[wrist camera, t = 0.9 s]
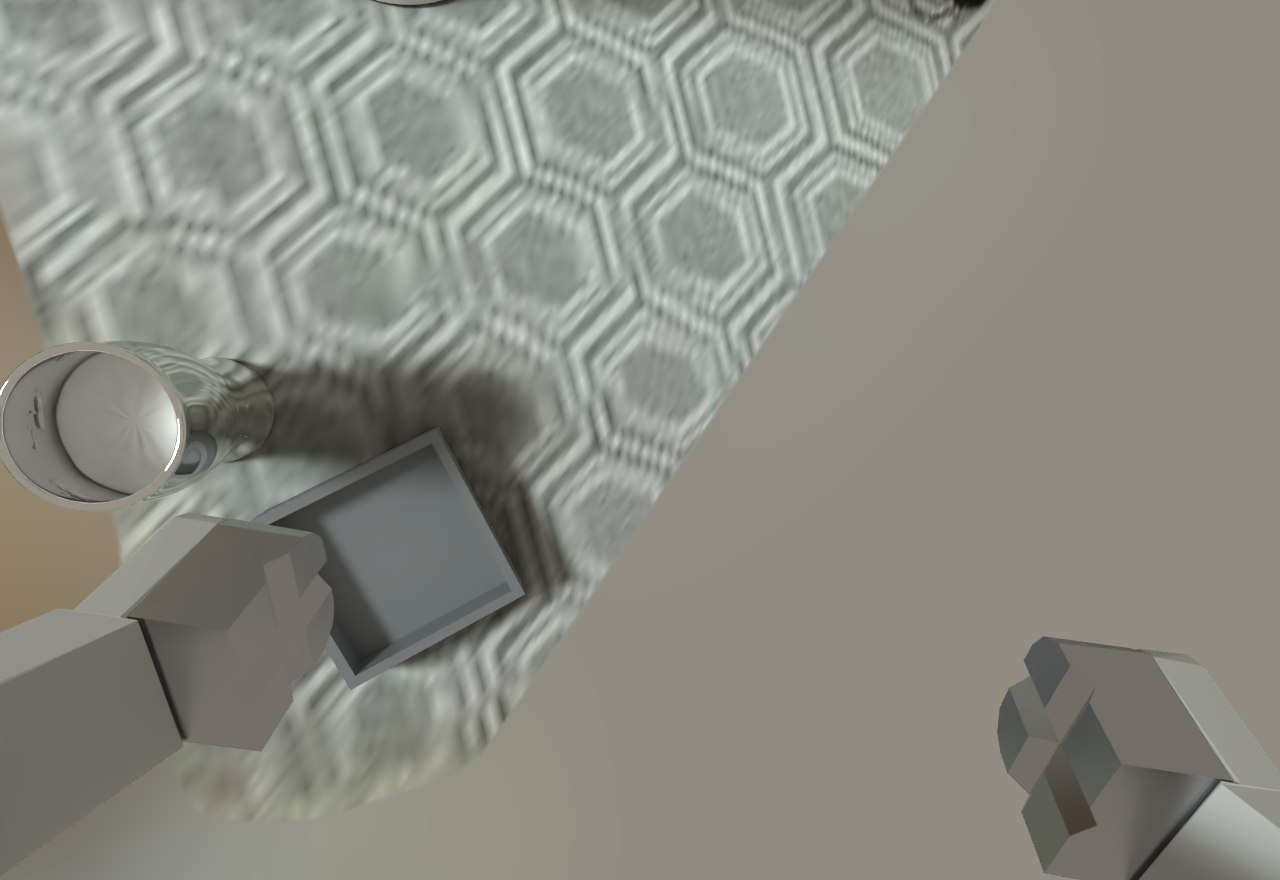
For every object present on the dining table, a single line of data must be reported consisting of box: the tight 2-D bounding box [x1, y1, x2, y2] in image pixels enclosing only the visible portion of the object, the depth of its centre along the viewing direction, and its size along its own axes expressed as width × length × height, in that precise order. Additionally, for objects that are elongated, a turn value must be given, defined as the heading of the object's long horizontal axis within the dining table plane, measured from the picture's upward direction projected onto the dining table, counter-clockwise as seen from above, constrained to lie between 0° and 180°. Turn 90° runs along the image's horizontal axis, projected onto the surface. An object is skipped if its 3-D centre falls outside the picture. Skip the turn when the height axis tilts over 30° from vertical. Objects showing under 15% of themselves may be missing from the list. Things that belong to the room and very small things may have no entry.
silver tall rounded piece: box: [0, 341, 274, 511], centre depth 35 cm, size 7×7×15 cm
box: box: [250, 426, 525, 690], centre depth 44 cm, size 11×11×4 cm
